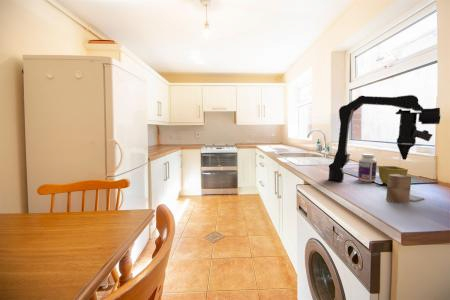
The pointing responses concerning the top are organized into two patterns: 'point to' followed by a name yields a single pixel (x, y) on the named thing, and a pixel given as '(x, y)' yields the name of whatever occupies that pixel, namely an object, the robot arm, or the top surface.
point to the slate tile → (415, 198)
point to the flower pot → (390, 172)
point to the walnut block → (398, 188)
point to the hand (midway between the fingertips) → (404, 158)
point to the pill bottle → (367, 168)
